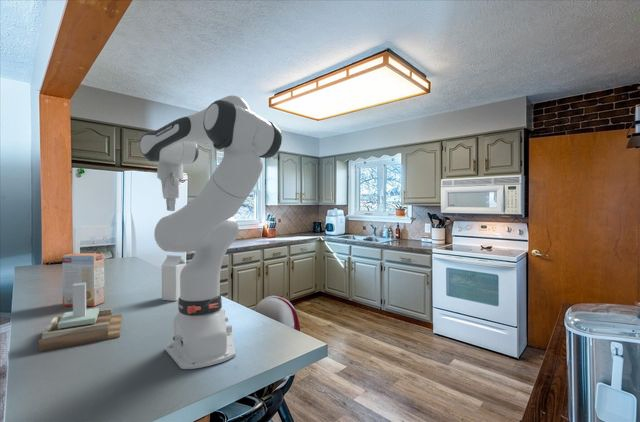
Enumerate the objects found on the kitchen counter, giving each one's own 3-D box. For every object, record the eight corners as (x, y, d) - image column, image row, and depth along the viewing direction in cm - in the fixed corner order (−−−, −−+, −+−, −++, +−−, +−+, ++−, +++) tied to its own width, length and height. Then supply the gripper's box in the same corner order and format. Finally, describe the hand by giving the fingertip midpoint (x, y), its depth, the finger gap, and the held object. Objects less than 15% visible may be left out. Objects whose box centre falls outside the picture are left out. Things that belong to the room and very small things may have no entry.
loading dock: (119, 337, 96) (119, 322, 96) (38, 351, 86) (38, 335, 86) (121, 318, 111) (121, 306, 111) (53, 329, 102) (53, 315, 102)
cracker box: (105, 302, 130) (105, 253, 129) (93, 307, 124) (93, 255, 123) (75, 301, 131) (74, 252, 131) (61, 306, 125) (61, 254, 125)
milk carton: (176, 301, 132) (175, 257, 131) (161, 300, 133) (161, 256, 133) (186, 296, 139) (186, 254, 138) (172, 295, 140) (172, 253, 140)
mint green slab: (95, 327, 96) (94, 286, 95) (57, 334, 91) (57, 290, 91) (99, 316, 105) (98, 278, 105) (65, 321, 100) (64, 282, 100)
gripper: (183, 172, 109) (183, 211, 109) (176, 176, 126) (176, 210, 127) (163, 171, 105) (163, 211, 106) (159, 175, 123) (159, 210, 123)
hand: (170, 210), depth 116 cm, fingers open, 8 cm apart
